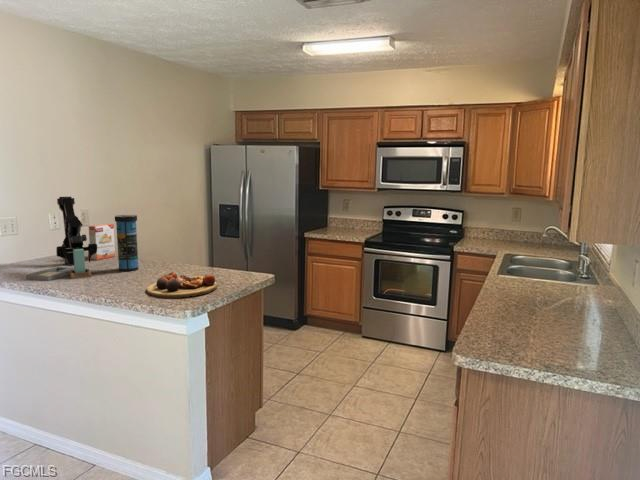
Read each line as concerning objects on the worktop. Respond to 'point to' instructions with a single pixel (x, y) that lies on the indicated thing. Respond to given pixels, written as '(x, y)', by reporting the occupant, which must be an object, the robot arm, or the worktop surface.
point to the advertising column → (127, 242)
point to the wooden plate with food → (181, 286)
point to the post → (79, 260)
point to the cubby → (80, 274)
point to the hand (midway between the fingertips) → (79, 263)
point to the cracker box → (102, 240)
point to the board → (50, 273)
